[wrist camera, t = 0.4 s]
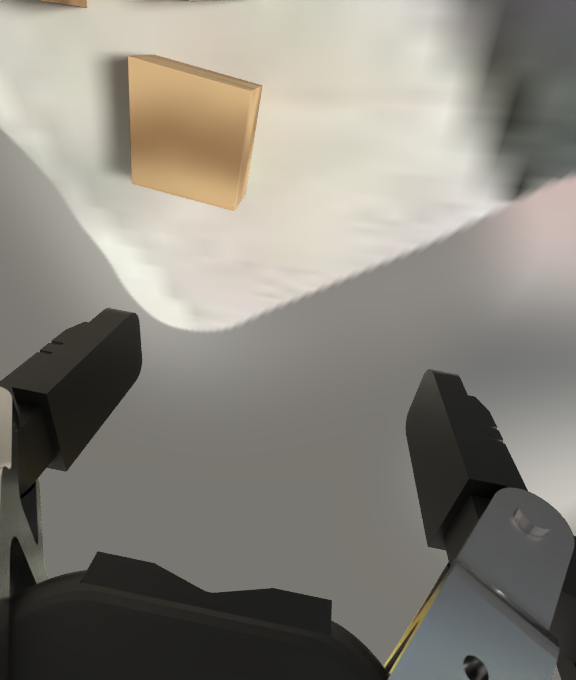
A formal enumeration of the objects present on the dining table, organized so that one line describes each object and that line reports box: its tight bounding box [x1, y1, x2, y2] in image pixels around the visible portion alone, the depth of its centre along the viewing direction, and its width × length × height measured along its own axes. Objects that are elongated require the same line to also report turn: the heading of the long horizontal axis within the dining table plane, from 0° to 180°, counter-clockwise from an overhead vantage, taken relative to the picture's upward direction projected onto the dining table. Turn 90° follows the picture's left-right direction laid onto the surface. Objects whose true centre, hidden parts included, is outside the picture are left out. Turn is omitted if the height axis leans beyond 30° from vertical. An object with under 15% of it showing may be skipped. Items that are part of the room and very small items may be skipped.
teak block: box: [128, 55, 262, 211], centre depth 25 cm, size 7×7×4 cm
